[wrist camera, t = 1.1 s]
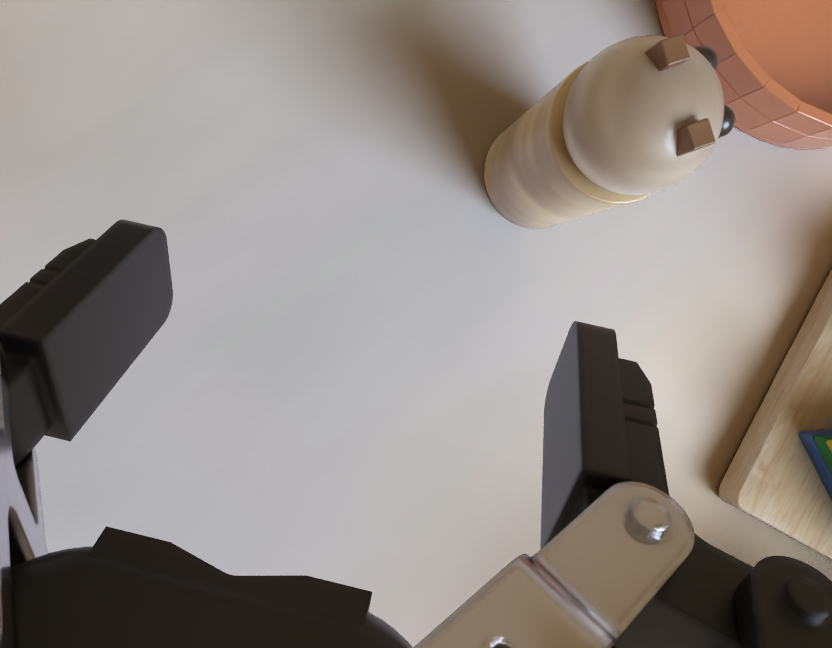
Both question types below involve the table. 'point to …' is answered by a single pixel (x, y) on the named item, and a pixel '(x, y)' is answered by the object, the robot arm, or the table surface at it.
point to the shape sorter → (792, 440)
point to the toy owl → (610, 133)
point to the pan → (766, 63)
